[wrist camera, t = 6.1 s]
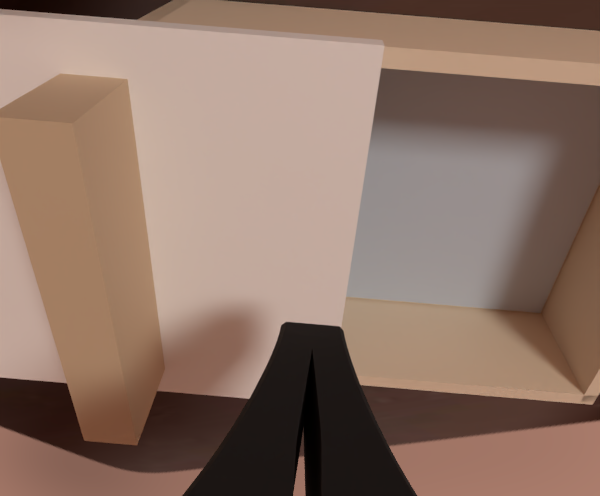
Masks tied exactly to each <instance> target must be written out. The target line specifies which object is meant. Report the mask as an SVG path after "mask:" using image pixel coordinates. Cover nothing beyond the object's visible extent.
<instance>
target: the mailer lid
mask: <svg viewBox="0 0 600 496" xmlns="http://www.w3.org/2000/svg"><path fill="white" fill-rule="evenodd" d="M384 46H385V45H384V43H383V41H382V40H377V39H365V38H352V37H340V36H328V35H315V34H303V33H291V32H278V31H266V30H254V29H241V28H229V27H217V26H204V25H192V24H180V23H167V22H155V21H142V20H130V19H118V18H105V17H93V16H81V15H68V14H56V13H44V12H31V11H19V10H7V9H0V377H2V378H13V379H25V380H37V381H48V382H60V383H67V385H68V388H69V391H70V395H71V398H72V401H73V405H74V408H75V412H76V415H77V418H78V422H79V425H80V428H81V432H82V435H83V438H84V441H93V442H104V443H116V444H128V445H138V442H139V439H140V436H141V434H142V431H143V428H144V425H145V423H146V420H147V417H148V414H149V412H150V409H151V406H152V403H153V401H154V398H155V395H156V392H157V391H166V392H177V393H189V394H201V395H212V396H224V397H236V398H248V399H249V398H250V397H251V395H252V393H253V391H254V389H255V387H256V385H257V383H258V381H259V380H260V378H261V376H262V374H263V372H264V370H265V368H266V366H267V363H268V361H269V359H270V357H271V354H272V352H273V350H274V347H275V345H276V342H277V339H278V336H279V332H280V328H281V325H282V324H284V323H285V322H296V323H307V324H319V325H330V326H340V327H341V326H342V320H343V313H344V307H345V300H346V294H347V287H348V280H349V274H350V267H351V261H352V254H353V248H354V241H355V235H356V228H357V222H358V215H359V209H360V202H361V196H362V189H363V183H364V176H365V170H366V163H367V157H368V150H369V144H370V137H371V131H372V124H373V118H374V111H375V105H376V98H377V92H378V85H379V79H380V72H381V66H382V59H383V53H384Z"/></svg>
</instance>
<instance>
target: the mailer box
mask: <svg viewBox="0 0 600 496" xmlns="http://www.w3.org/2000/svg"><path fill="white" fill-rule="evenodd" d="M138 20H142V21H155V22H167V23H180V24H192V25H204V26H217V27H229V28H241V29H254V30H266V31H278V32H291V33H303V34H315V35H328V36H340V37H352V38H365V39H377V40H382V41H383V43H384V45H385V46H384V53H383V59H382V66H381V72H380V79H379V85H378V92H377V98H376V105H375V111H374V118H373V124H372V131H371V137H370V144H369V150H368V157H367V163H366V170H365V176H364V183H363V189H362V196H361V202H360V209H359V215H358V222H357V228H356V235H355V241H354V248H353V254H352V261H351V267H350V274H349V280H348V287H347V294H346V300H345V307H344V313H343V320H342V326H341V328H342V329H343V331H344V336H345V340H346V344H347V348H348V351H349V354H350V358H351V361H352V364H353V366H354V369H355V372H356V375H357V377H358V380H359V383H360V385H367V386H379V387H390V388H402V389H414V390H426V391H438V392H449V393H461V394H473V395H485V396H496V397H508V398H520V399H532V400H543V401H555V402H567V403H579V404H590V405H593V403H594V401H595V400H596V398H597V396H598V395H599V393H600V31H594V30H582V29H569V28H557V27H544V26H532V25H520V24H507V23H495V22H482V21H470V20H458V19H445V18H433V17H420V16H408V15H396V14H383V13H371V12H358V11H346V10H334V9H321V8H309V7H297V6H284V5H272V4H259V3H247V2H235V1H222V0H173V1H171V2H169V3H167V4H165V5H164V6H162V7H160V8H158V9H156V10H154V11H152V12H151V13H149V14H147V15H145V16H143V17H141V18H139V19H138Z"/></svg>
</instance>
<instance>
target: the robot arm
mask: <svg viewBox="0 0 600 496" xmlns="http://www.w3.org/2000/svg"><path fill="white" fill-rule="evenodd" d="M303 426H304V460H305V490H306V496H417V495H416V493H415V491H414V490H413V488H412V487H411V485H410V483H409V482H408V480H407V478H406V476H405V475H404V473H403V471H402V470H401V468H400V466H399V464H398V463H397V461H396V459H395V457H394V455H393V453H392V452H391V450H390V448H389V446H388V444H387V442H386V440H385V438H384V436H383V434H382V432H381V430H380V428H379V426H378V424H377V422H376V420H375V417H374V415H373V413H372V411H371V409H370V406H369V404H368V402H367V399H366V397H365V395H364V392H363V390H362V388H361V385H360V383H359V380H358V377H357V375H356V372H355V369H354V366H353V364H352V361H351V358H350V354H349V351H348V348H347V344H346V340H345V336H344V331H343V329H342V328H341V327H340V326H330V325H319V324H307V323H296V322H285V323H284V324H282V325H281V328H280V332H279V336H278V339H277V342H276V345H275V347H274V350H273V352H272V354H271V357H270V359H269V361H268V363H267V366H266V368H265V370H264V372H263V374H262V376H261V378H260V380H259V381H258V383H257V385H256V387H255V389H254V391H253V393H252V395H251V397H250V398H249V400H248V402H247V403H246V405H245V407H244V408H243V410H242V412H241V413H240V415H239V417H238V418H237V420H236V422H235V423H234V425H233V427H232V428H231V430H230V431H229V433H228V434H227V436H226V437H225V439H224V440H223V442H222V443H221V445H220V446H219V448H218V449H217V451H216V452H215V453H214V455H213V456H212V458H211V459H210V460H209V462H208V463H207V465H206V466H205V467H204V469H203V470H202V471H201V472H200V474H199V475H198V476H197V478H196V479H195V480H194V482H193V483H192V484H191V485H190V487H189V488H188V489H187V491H186V492H185V493H184V494H183V496H293V491H294V484H295V478H296V471H297V465H298V459H299V452H300V446H301V439H302V433H303Z"/></svg>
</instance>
